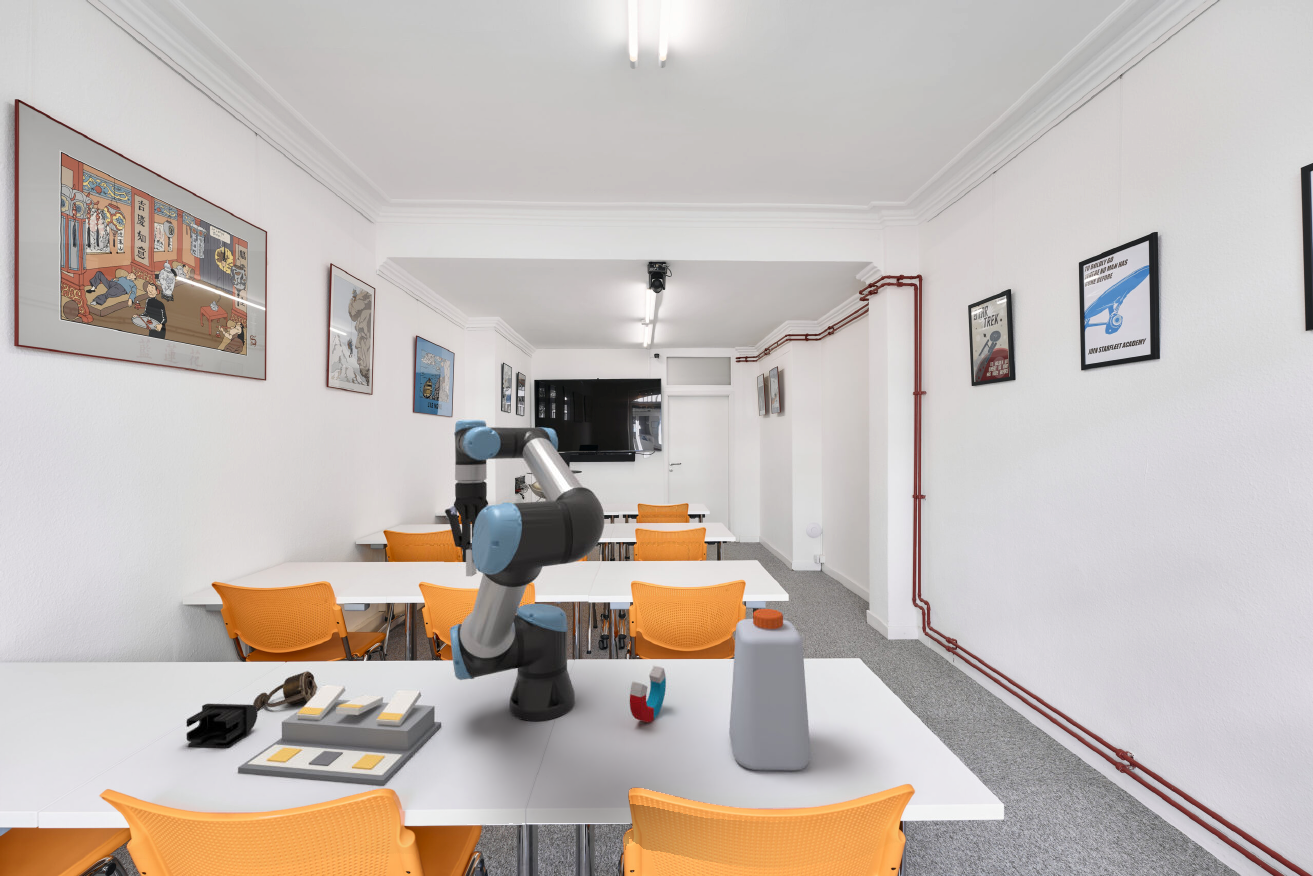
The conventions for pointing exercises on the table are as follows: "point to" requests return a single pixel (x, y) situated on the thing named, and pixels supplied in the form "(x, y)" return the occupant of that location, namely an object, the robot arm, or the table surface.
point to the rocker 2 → (398, 708)
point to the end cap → (221, 725)
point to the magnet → (656, 696)
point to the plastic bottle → (769, 695)
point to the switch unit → (345, 746)
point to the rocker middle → (359, 705)
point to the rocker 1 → (321, 702)
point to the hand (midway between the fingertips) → (471, 574)
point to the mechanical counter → (290, 691)
